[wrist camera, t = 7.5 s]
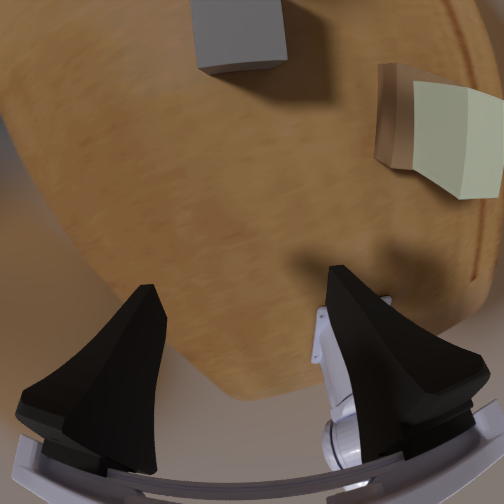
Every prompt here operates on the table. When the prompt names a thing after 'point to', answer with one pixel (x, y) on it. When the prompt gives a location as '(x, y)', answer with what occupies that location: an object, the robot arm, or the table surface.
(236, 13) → the charcoal brick
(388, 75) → the walnut block
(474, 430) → the robot arm
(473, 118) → the sage brick
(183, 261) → the table surface
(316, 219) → the table surface
